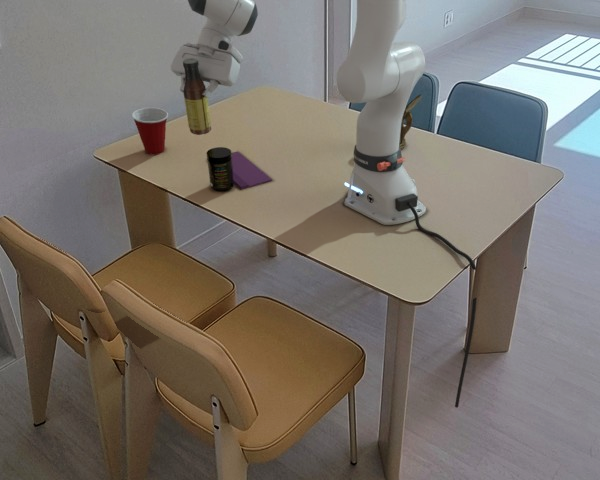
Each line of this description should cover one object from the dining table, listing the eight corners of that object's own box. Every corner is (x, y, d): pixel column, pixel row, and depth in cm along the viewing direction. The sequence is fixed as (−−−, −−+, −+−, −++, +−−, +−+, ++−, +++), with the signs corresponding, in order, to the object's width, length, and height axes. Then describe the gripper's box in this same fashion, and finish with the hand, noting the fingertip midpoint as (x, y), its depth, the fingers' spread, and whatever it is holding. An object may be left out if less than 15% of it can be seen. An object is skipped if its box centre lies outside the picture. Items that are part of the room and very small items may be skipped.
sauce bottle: (203, 125, 187) (195, 54, 175) (215, 131, 184) (208, 60, 171) (184, 131, 184) (174, 59, 172) (196, 138, 180) (187, 65, 168)
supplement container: (238, 189, 181) (235, 154, 175) (216, 195, 179) (212, 159, 173) (228, 179, 186) (225, 145, 180) (206, 185, 184) (202, 150, 177)
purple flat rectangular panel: (272, 180, 185) (272, 178, 185) (240, 189, 181) (240, 187, 181) (238, 152, 200) (238, 150, 200) (208, 160, 196) (208, 158, 196)
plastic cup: (167, 159, 197) (161, 121, 190) (133, 157, 199) (126, 119, 192) (178, 144, 206) (172, 107, 199) (145, 142, 207) (138, 105, 200)
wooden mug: (407, 158, 195) (413, 99, 184) (370, 146, 202) (373, 89, 191) (423, 148, 201) (429, 90, 190) (385, 137, 207) (389, 80, 196)
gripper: (176, 35, 179) (158, 82, 178) (237, 46, 170) (218, 95, 170) (189, 48, 185) (171, 93, 184) (248, 59, 176) (229, 106, 175)
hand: (194, 94), depth 177 cm, fingers closed on sauce bottle, 6 cm apart
